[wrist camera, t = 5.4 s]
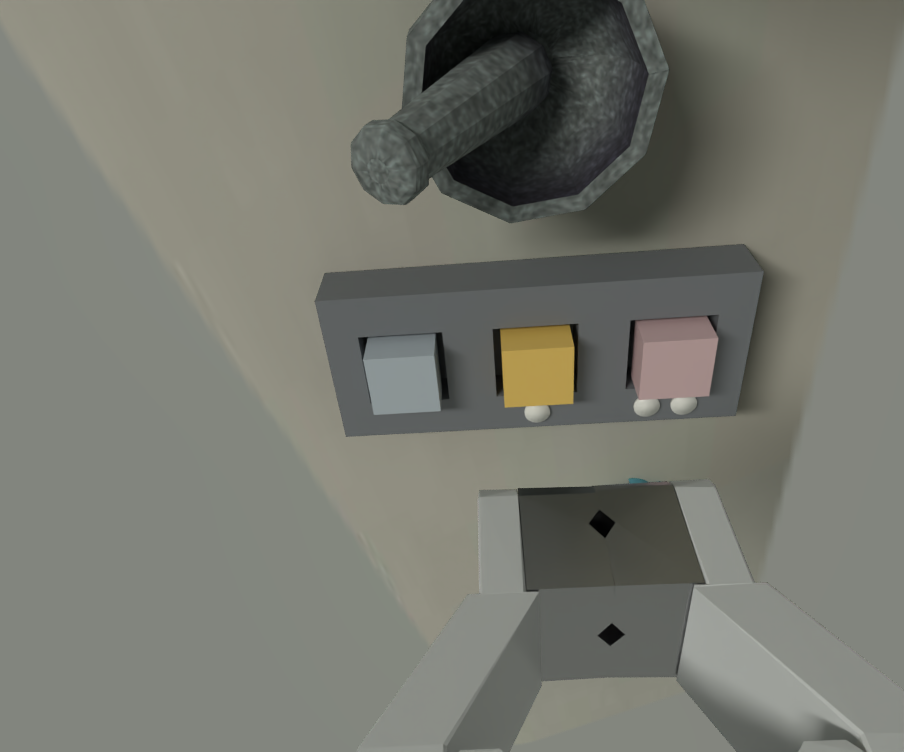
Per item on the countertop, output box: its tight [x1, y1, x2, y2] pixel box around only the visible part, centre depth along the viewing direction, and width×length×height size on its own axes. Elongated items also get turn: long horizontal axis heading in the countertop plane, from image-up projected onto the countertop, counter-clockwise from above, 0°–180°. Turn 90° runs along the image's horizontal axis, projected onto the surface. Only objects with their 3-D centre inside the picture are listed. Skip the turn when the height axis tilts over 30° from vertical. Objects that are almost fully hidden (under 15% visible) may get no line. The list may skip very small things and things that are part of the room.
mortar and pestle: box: [351, 0, 669, 223], centre depth 26 cm, size 11×9×12 cm
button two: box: [631, 316, 718, 400], centre depth 36 cm, size 4×4×2 cm
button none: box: [363, 333, 442, 415], centre depth 37 cm, size 4×4×2 cm
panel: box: [315, 244, 764, 437], centre depth 38 cm, size 22×9×3 cm, turn 95°
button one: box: [500, 324, 574, 408], centre depth 37 cm, size 4×4×2 cm
